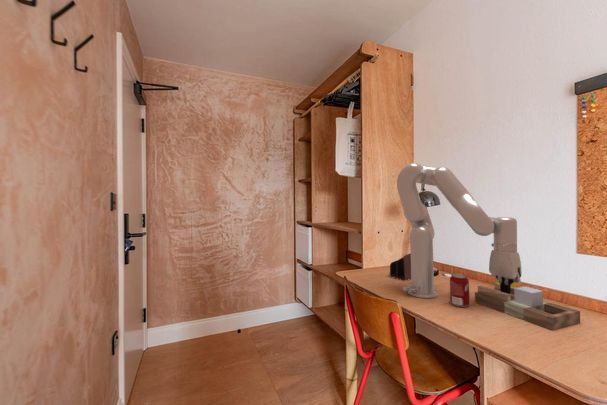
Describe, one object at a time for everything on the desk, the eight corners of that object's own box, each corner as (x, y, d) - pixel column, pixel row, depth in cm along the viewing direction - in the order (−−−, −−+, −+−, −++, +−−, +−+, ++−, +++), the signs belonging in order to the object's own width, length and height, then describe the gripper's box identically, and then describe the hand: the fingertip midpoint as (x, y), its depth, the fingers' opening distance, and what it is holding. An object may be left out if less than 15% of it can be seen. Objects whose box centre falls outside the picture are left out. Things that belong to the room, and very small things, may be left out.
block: (532, 307, 97) (531, 293, 97) (514, 301, 102) (514, 288, 102) (543, 304, 99) (543, 291, 99) (525, 299, 104) (525, 286, 104)
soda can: (462, 309, 106) (462, 278, 106) (446, 303, 112) (446, 274, 112) (473, 306, 109) (472, 276, 109) (456, 300, 115) (456, 272, 115)
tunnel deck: (552, 330, 88) (552, 310, 88) (474, 301, 113) (474, 286, 113) (580, 322, 93) (579, 303, 93) (499, 297, 118) (499, 282, 118)
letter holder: (426, 275, 156) (425, 250, 156) (405, 281, 144) (404, 254, 144) (410, 271, 164) (410, 248, 164) (389, 277, 153) (389, 252, 153)
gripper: (480, 245, 114) (480, 289, 114) (518, 252, 100) (518, 301, 100) (493, 244, 117) (493, 287, 117) (532, 250, 102) (532, 298, 102)
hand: (505, 293), depth 108 cm, fingers closed
